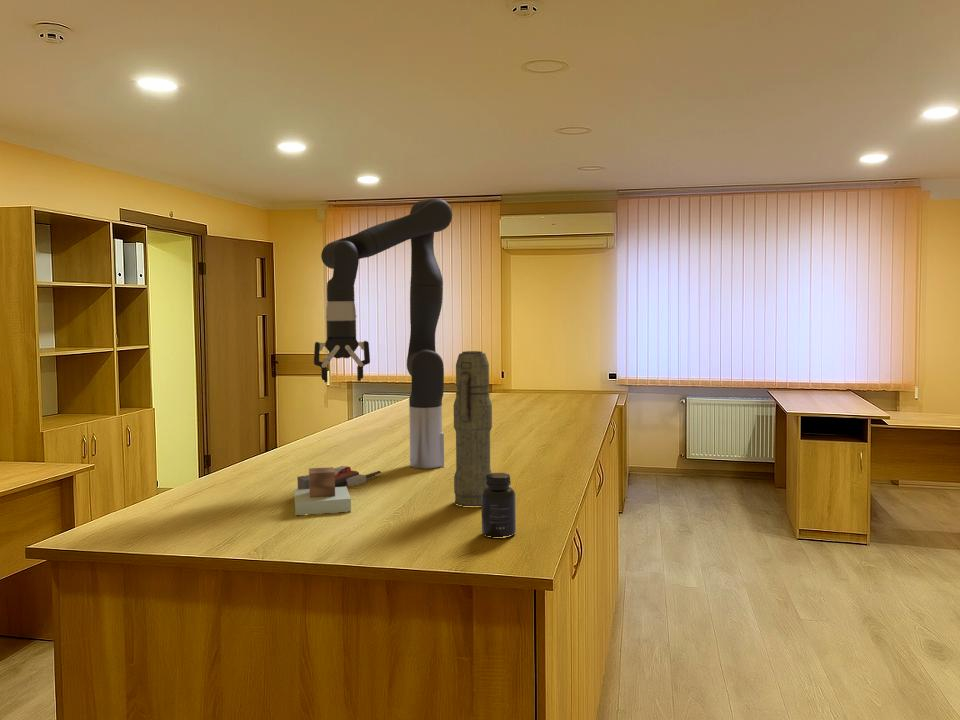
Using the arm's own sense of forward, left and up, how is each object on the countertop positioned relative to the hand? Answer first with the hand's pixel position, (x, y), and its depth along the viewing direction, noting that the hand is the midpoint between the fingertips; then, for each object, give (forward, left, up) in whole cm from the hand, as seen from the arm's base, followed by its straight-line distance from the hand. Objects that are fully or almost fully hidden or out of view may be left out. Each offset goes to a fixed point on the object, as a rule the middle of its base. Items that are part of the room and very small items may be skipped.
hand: (342, 381), depth 200 cm
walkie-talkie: (-1, +3, -27) cm, 27 cm away
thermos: (-27, +32, -26) cm, 49 cm away
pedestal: (+7, +26, -26) cm, 37 cm away
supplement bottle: (-26, +57, -26) cm, 68 cm away
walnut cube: (+7, +26, -23) cm, 35 cm away
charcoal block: (+9, +16, -26) cm, 32 cm away
